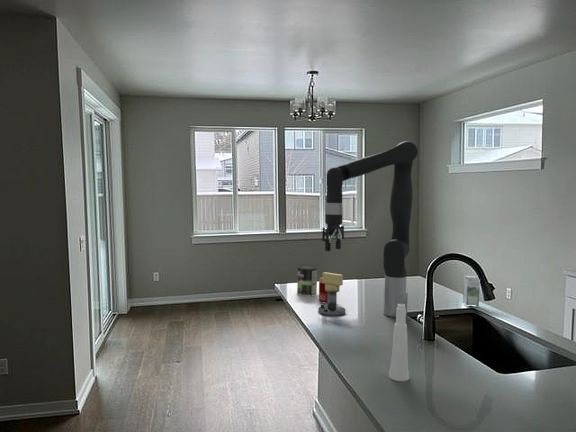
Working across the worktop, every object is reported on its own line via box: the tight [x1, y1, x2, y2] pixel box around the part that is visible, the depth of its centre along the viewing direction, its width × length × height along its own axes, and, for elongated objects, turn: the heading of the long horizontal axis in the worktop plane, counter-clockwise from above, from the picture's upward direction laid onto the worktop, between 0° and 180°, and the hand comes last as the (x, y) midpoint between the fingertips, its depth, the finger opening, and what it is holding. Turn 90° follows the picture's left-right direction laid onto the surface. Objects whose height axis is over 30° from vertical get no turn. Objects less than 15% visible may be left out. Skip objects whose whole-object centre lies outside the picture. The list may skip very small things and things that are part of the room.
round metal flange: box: [317, 292, 346, 317], centre depth 206 cm, size 12×12×10 cm
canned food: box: [318, 278, 328, 304], centre depth 225 cm, size 8×8×11 cm
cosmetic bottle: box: [388, 304, 410, 382], centre depth 137 cm, size 6×6×22 cm
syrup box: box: [462, 274, 481, 306], centre depth 220 cm, size 6×6×14 cm
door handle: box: [318, 271, 344, 293], centre depth 205 cm, size 10×6×8 cm, turn 53°
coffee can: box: [296, 264, 318, 297], centre depth 239 cm, size 10×10×14 cm
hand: (333, 250), depth 204 cm, fingers open, 8 cm apart
